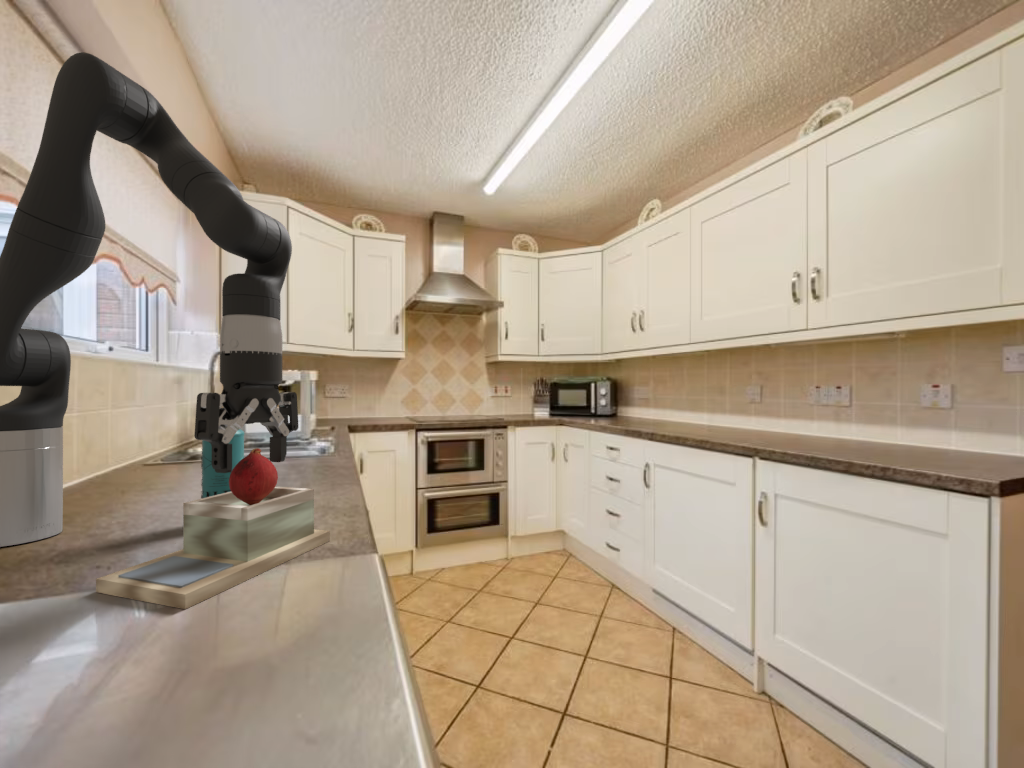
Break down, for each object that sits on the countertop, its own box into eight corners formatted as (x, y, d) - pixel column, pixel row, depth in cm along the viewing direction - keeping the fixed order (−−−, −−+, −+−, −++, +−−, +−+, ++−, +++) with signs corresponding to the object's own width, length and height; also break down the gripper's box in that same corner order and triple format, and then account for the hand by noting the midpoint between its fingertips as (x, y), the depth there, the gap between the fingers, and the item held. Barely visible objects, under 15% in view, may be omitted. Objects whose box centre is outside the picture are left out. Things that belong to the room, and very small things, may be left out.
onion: (253, 512, 57) (255, 451, 57) (217, 509, 58) (219, 450, 58) (286, 502, 62) (287, 446, 62) (252, 499, 63) (254, 445, 64)
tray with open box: (96, 592, 48) (96, 520, 49) (257, 533, 68) (257, 482, 69) (185, 609, 44) (185, 531, 44) (329, 540, 64) (329, 487, 64)
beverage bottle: (240, 514, 79) (240, 406, 80) (250, 522, 75) (249, 407, 75) (197, 522, 75) (197, 408, 75) (204, 531, 70) (204, 408, 70)
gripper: (273, 355, 68) (273, 458, 68) (180, 347, 55) (179, 475, 54) (311, 354, 66) (311, 460, 66) (224, 344, 52) (223, 478, 52)
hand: (251, 466), depth 60 cm, fingers open, 8 cm apart
